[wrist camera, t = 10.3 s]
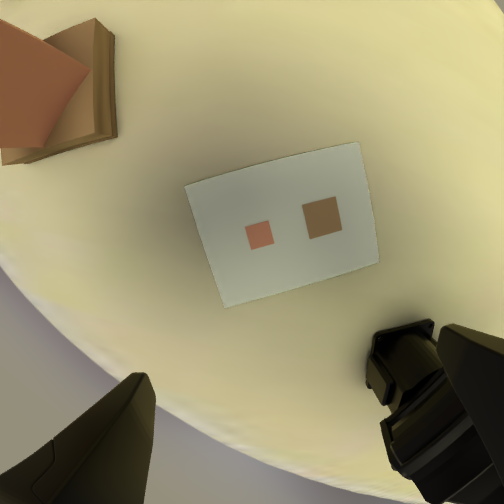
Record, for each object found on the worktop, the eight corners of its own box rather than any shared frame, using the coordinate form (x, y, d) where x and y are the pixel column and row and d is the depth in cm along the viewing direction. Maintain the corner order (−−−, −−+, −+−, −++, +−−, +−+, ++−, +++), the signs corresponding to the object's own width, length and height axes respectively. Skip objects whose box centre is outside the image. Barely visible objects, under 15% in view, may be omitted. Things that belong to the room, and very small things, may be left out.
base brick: (114, 35, 15) (96, 16, 11) (117, 137, 17) (95, 133, 14) (28, 70, 14) (3, 61, 11) (29, 163, 17) (1, 166, 13)
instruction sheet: (357, 141, 18) (359, 141, 18) (378, 261, 21) (380, 262, 21) (184, 185, 18) (183, 186, 18) (224, 307, 21) (224, 308, 21)
